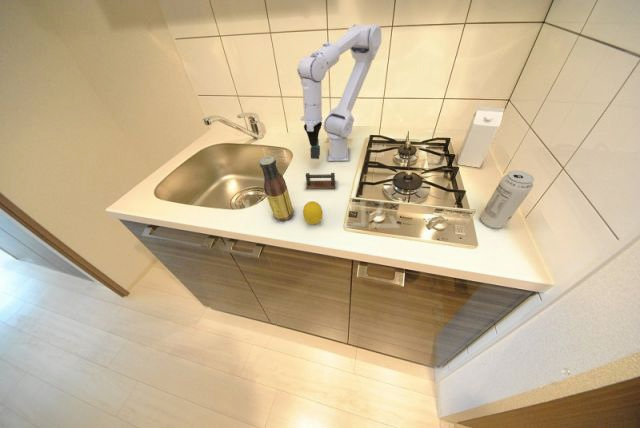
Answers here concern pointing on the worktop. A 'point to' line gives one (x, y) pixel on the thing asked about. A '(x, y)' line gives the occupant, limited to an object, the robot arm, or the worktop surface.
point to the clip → (315, 151)
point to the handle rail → (320, 183)
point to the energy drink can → (507, 198)
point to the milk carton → (480, 136)
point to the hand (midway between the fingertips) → (313, 144)
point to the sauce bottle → (276, 189)
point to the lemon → (312, 212)
